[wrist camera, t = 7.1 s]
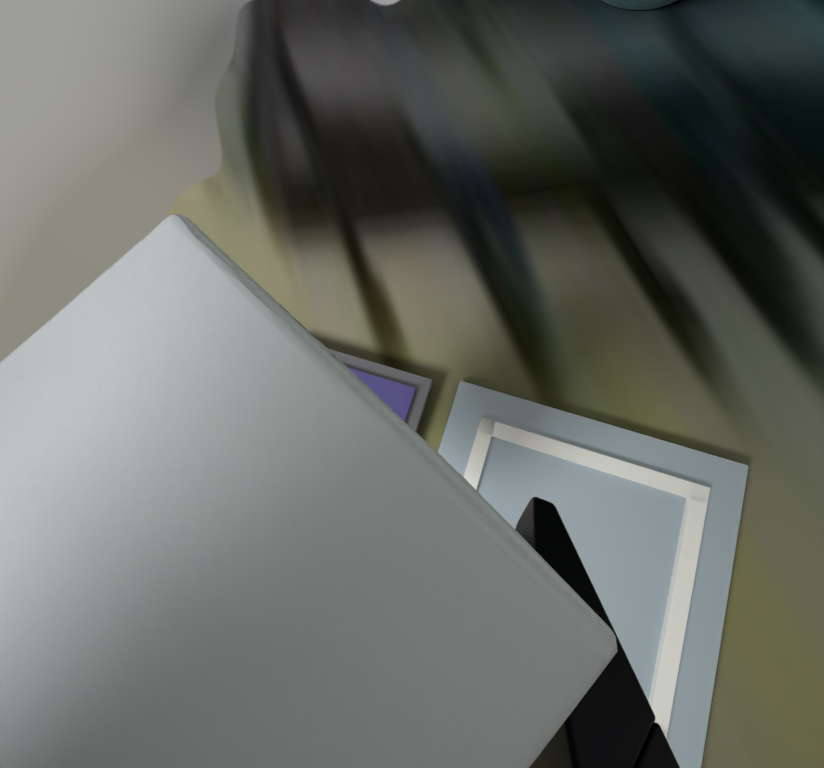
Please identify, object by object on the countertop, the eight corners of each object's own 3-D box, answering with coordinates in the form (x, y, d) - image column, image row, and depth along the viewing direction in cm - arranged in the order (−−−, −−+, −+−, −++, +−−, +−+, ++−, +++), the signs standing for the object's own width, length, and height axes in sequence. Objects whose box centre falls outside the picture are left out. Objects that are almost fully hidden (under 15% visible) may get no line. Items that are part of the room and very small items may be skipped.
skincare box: (484, 503, 14) (664, 669, 3) (407, 588, 14) (210, 1236, 2) (375, 397, 16) (169, 187, 4) (301, 471, 15) (-176, 488, 3)
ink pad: (364, 593, 20) (358, 602, 18) (219, 533, 21) (205, 538, 20) (433, 383, 22) (431, 378, 21) (296, 342, 23) (288, 335, 22)
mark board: (686, 792, 17) (699, 810, 16) (375, 655, 19) (371, 664, 18) (739, 465, 19) (753, 465, 18) (460, 382, 22) (460, 379, 21)
